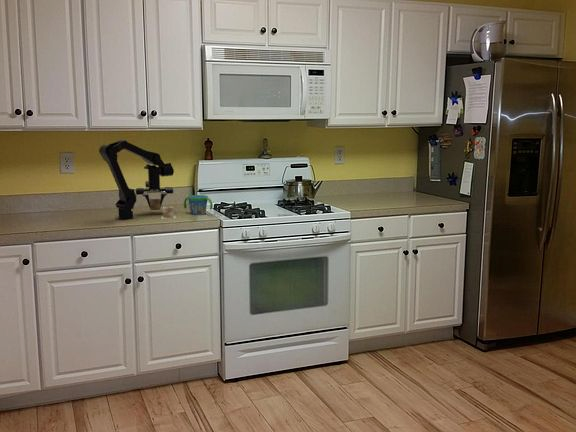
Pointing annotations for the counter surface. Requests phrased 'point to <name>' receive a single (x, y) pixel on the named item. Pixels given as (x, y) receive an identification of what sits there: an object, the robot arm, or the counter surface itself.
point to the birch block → (168, 212)
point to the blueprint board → (166, 218)
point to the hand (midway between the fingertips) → (155, 207)
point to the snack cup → (198, 204)
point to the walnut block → (154, 204)
